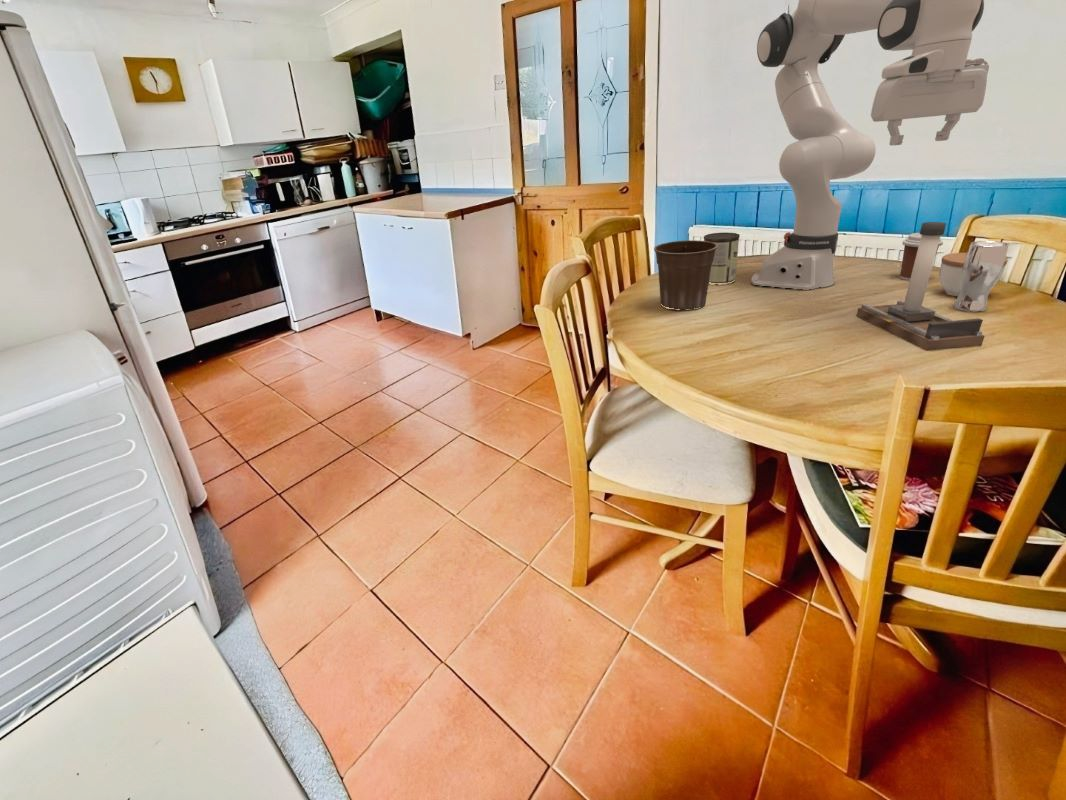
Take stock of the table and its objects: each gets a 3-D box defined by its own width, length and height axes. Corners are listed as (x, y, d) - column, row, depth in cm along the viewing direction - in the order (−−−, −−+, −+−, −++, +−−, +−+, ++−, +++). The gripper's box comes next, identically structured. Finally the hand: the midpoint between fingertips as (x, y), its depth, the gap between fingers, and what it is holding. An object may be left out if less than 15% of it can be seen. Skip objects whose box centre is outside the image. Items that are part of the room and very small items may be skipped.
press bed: (856, 315, 121) (860, 295, 119) (901, 311, 121) (906, 291, 119) (927, 350, 101) (934, 326, 98) (981, 345, 101) (989, 321, 98)
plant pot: (689, 317, 131) (693, 254, 123) (640, 307, 142) (641, 249, 135) (724, 302, 139) (730, 242, 132) (676, 293, 151) (678, 238, 143)
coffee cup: (891, 280, 144) (901, 237, 139) (896, 273, 150) (907, 231, 145) (930, 283, 139) (943, 238, 133) (934, 275, 145) (946, 232, 139)
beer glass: (994, 312, 116) (1017, 245, 109) (959, 313, 117) (980, 247, 110) (977, 303, 122) (998, 239, 115) (944, 304, 123) (963, 241, 116)
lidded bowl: (921, 293, 132) (932, 250, 127) (952, 284, 136) (964, 242, 131) (975, 303, 122) (990, 257, 117) (1007, 294, 126) (1022, 249, 121)
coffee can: (701, 277, 165) (704, 232, 159) (735, 277, 162) (739, 231, 155) (700, 285, 157) (703, 239, 150) (735, 285, 153) (740, 237, 147)
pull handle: (887, 313, 114) (909, 223, 105) (913, 311, 114) (937, 220, 105) (905, 321, 109) (930, 227, 100) (933, 319, 109) (960, 224, 100)
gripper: (977, 59, 99) (956, 138, 105) (874, 69, 99) (859, 147, 105) (1005, 54, 93) (981, 137, 100) (896, 65, 93) (879, 147, 100)
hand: (918, 143), depth 103 cm, fingers open, 8 cm apart
